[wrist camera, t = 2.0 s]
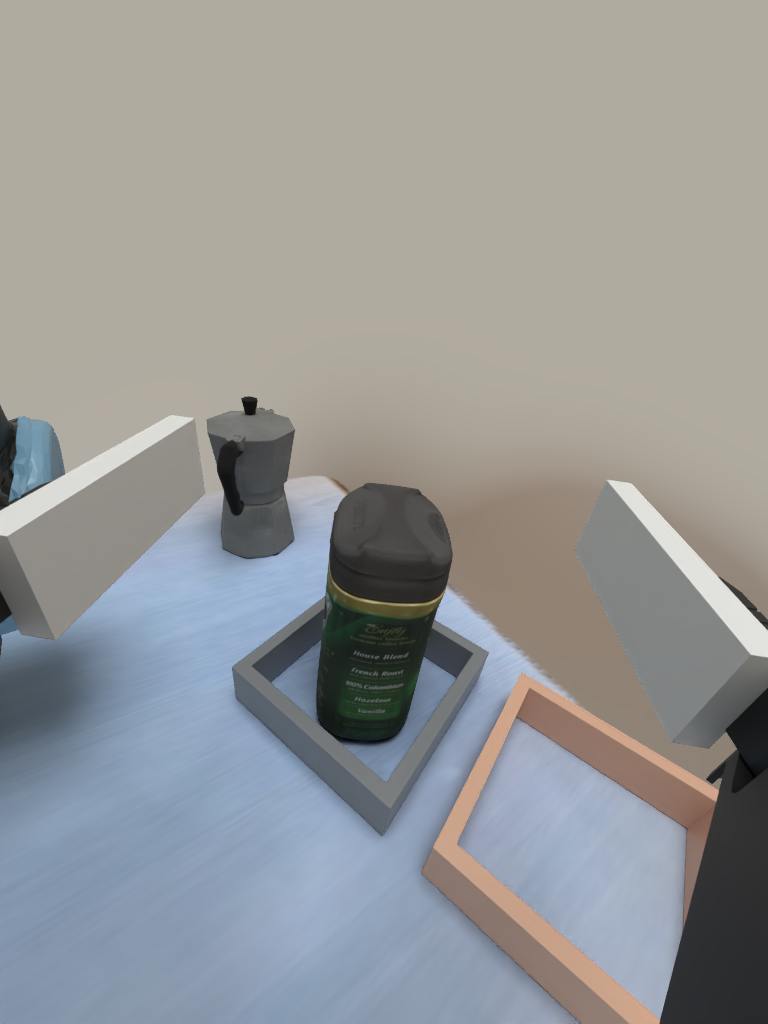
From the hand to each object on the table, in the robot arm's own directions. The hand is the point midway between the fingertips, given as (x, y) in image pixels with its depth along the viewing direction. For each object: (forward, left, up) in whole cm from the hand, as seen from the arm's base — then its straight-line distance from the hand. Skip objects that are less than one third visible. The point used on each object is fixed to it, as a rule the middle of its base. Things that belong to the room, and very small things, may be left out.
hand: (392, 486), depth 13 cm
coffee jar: (-5, +8, -26) cm, 27 cm away
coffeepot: (-28, +15, -26) cm, 41 cm away
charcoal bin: (-5, +8, -25) cm, 27 cm away
